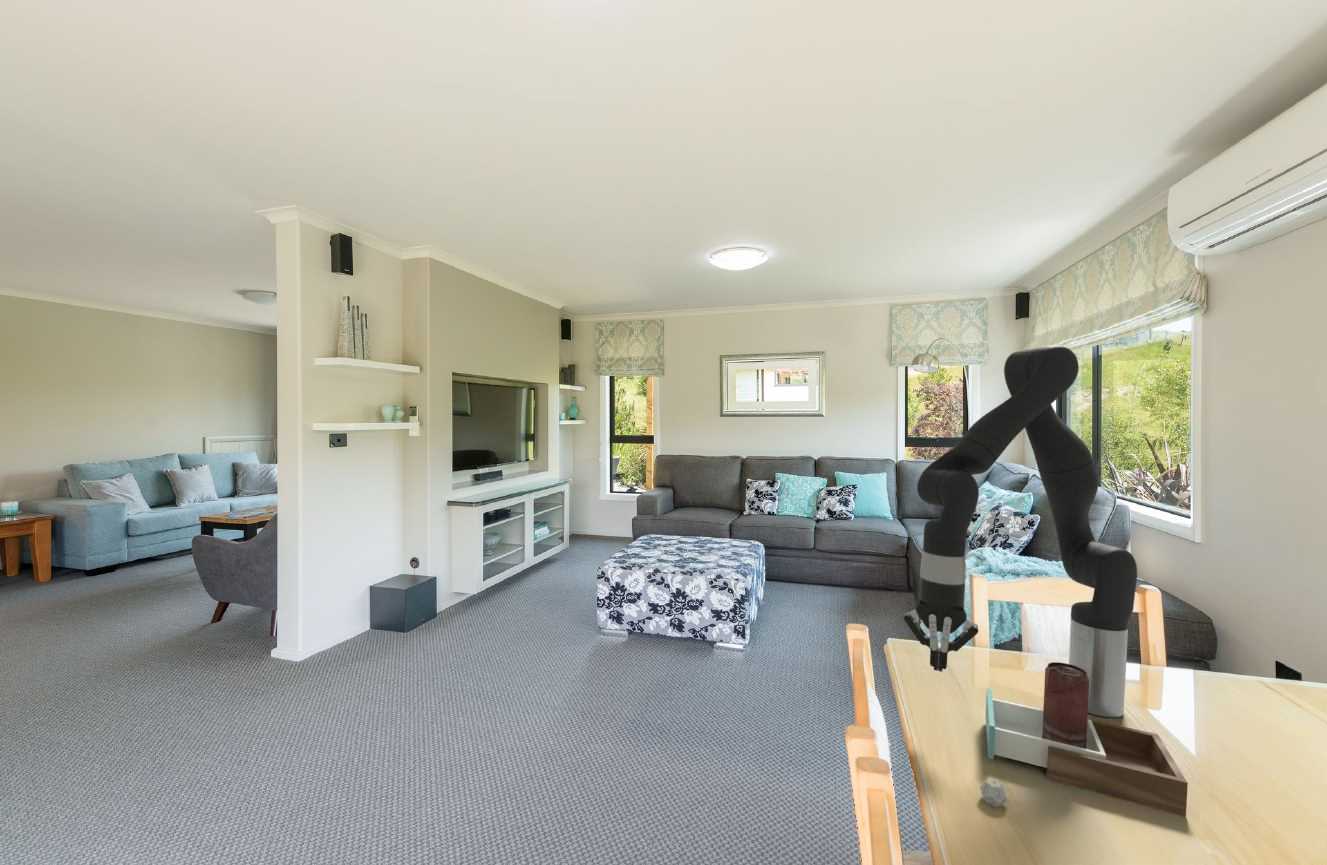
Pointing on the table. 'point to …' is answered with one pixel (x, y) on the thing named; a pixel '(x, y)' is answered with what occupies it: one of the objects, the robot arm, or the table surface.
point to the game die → (993, 792)
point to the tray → (1027, 734)
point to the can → (1065, 704)
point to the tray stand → (1124, 769)
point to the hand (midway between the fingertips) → (937, 669)
